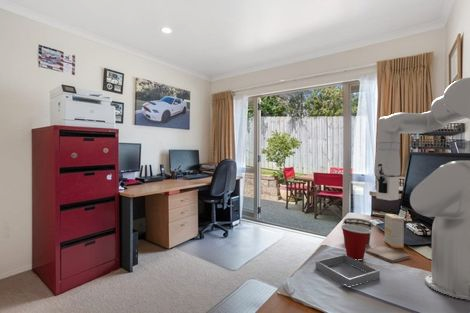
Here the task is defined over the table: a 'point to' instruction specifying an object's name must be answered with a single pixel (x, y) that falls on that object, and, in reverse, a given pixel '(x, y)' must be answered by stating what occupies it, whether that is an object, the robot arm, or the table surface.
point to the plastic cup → (355, 240)
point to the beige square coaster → (387, 254)
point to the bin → (323, 264)
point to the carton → (389, 189)
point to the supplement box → (394, 230)
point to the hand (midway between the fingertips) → (387, 192)
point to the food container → (359, 224)
